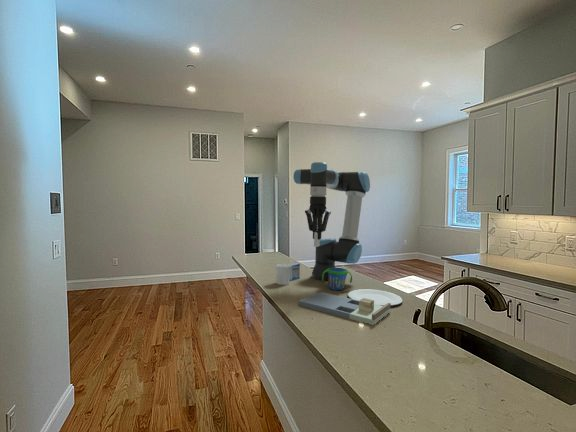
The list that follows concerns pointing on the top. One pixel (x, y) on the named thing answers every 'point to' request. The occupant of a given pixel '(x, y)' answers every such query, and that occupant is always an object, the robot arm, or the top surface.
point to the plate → (376, 296)
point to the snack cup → (336, 278)
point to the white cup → (283, 274)
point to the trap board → (344, 307)
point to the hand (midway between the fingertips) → (316, 246)
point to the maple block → (366, 305)
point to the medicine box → (294, 271)
